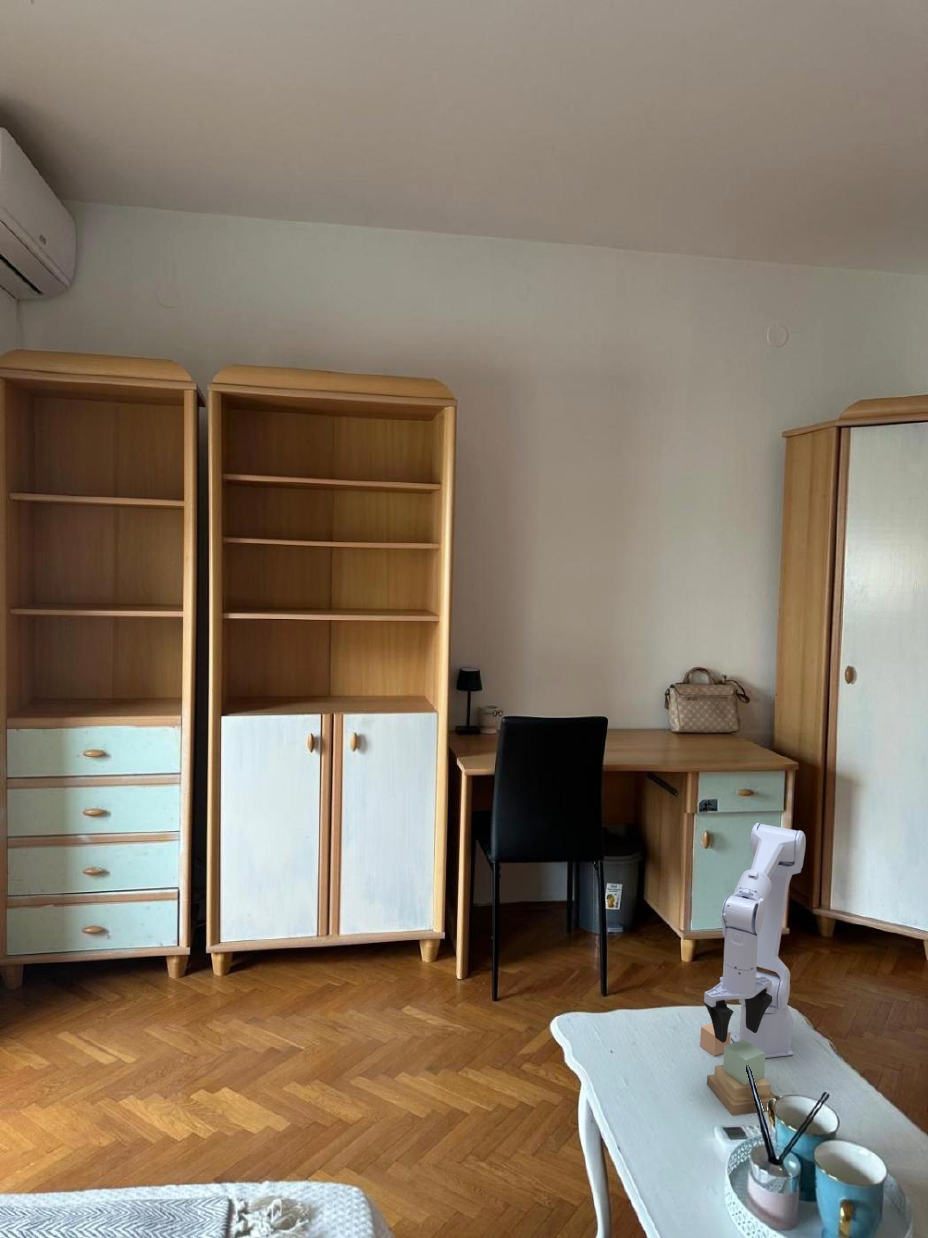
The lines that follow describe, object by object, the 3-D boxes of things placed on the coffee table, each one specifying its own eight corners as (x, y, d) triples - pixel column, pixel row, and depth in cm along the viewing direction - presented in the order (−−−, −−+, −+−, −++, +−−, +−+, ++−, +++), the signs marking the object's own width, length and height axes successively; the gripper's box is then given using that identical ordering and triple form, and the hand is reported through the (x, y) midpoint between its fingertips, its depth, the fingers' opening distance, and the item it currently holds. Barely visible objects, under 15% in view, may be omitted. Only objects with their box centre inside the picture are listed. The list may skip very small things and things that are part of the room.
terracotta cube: (714, 1041, 174) (715, 1022, 174) (729, 1051, 170) (730, 1032, 170) (699, 1045, 172) (700, 1026, 172) (714, 1056, 168) (715, 1036, 168)
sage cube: (741, 1063, 159) (743, 1039, 159) (763, 1077, 155) (765, 1053, 155) (723, 1071, 156) (724, 1046, 156) (744, 1085, 152) (746, 1060, 152)
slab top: (748, 1074, 160) (749, 1062, 160) (769, 1097, 153) (770, 1084, 153) (714, 1078, 158) (714, 1065, 158) (734, 1102, 151) (735, 1088, 151)
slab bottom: (750, 1082, 161) (751, 1070, 161) (778, 1113, 153) (778, 1100, 152) (706, 1087, 159) (707, 1075, 159) (732, 1118, 151) (732, 1105, 150)
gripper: (753, 946, 163) (749, 1015, 164) (694, 961, 156) (690, 1032, 157) (782, 963, 157) (778, 1034, 158) (721, 978, 150) (717, 1053, 151)
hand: (736, 1035), depth 157 cm, fingers open, 7 cm apart
